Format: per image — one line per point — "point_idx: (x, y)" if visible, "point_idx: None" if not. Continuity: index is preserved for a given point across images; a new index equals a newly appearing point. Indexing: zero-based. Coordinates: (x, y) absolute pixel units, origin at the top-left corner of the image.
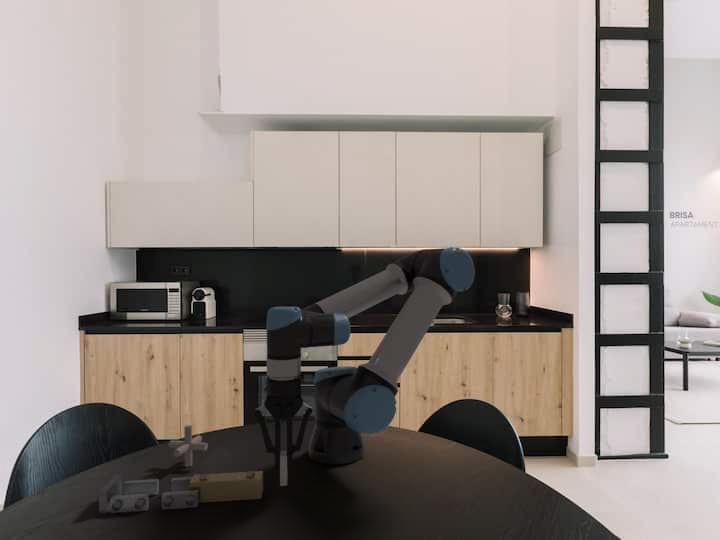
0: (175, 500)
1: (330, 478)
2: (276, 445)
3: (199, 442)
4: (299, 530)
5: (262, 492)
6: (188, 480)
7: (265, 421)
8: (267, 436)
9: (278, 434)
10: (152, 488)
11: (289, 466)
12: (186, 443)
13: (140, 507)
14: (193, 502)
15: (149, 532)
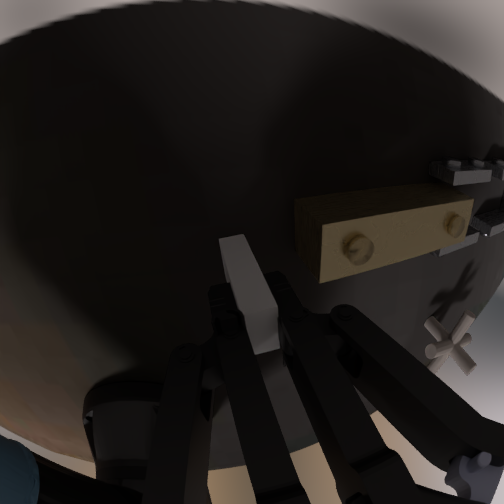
0: (469, 165)
1: (110, 327)
2: (318, 344)
3: (442, 354)
4: (134, 15)
5: (295, 235)
6: None
7: (443, 436)
8: (393, 367)
9: (335, 402)
10: (486, 220)
11: (220, 290)
12: (457, 344)
13: (494, 158)
14: (444, 158)
15: (471, 81)
